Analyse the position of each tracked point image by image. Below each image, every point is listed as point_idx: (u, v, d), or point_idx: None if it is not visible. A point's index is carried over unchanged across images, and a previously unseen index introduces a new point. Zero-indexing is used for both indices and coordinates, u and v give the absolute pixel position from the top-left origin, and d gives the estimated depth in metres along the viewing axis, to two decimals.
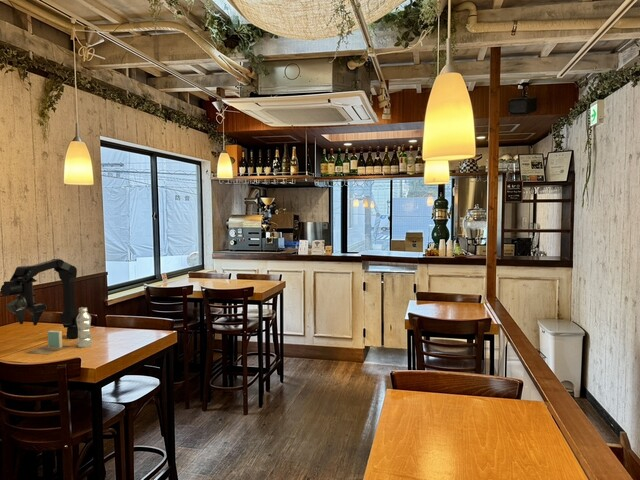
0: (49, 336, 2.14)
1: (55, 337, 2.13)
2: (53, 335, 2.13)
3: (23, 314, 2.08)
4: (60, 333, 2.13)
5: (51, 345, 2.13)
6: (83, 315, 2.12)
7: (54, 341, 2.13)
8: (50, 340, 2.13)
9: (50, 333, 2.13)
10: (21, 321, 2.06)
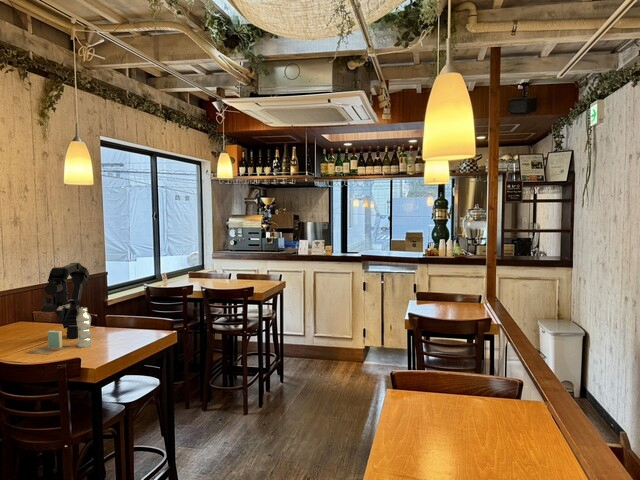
0: (49, 336, 2.14)
1: (55, 337, 2.13)
2: (53, 335, 2.13)
3: (65, 313, 2.19)
4: (60, 333, 2.13)
5: (51, 345, 2.13)
6: (83, 315, 2.12)
7: (54, 341, 2.13)
8: (50, 340, 2.13)
9: (50, 333, 2.13)
10: None
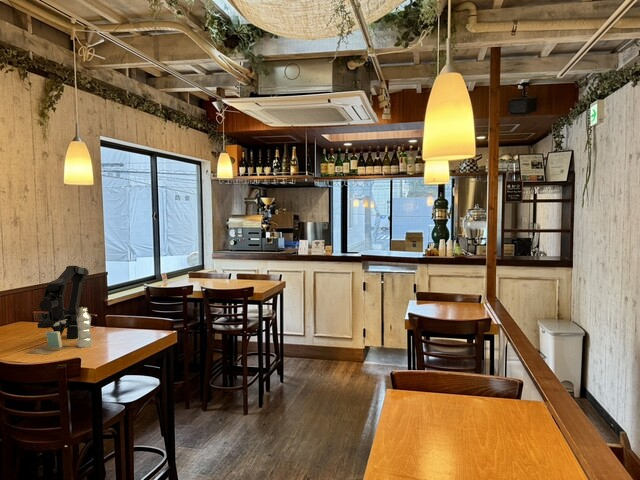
0: (48, 336, 2.13)
1: (54, 337, 2.12)
2: (52, 336, 2.12)
3: (61, 329, 2.16)
4: (59, 333, 2.12)
5: (51, 345, 2.13)
6: (83, 315, 2.12)
7: (53, 341, 2.13)
8: (49, 340, 2.13)
9: (49, 334, 2.12)
10: None
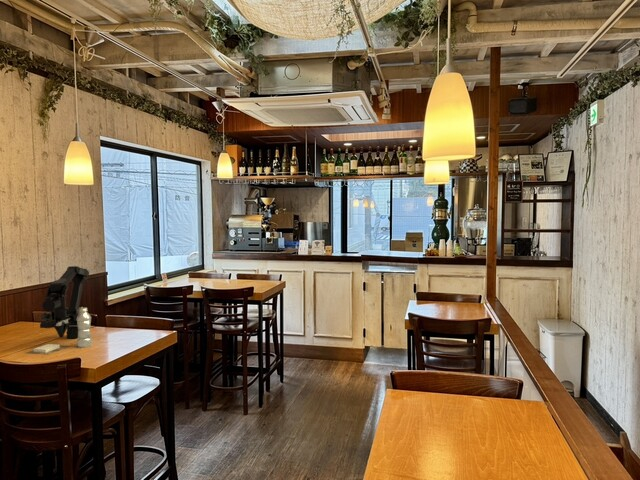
0: None
1: None
2: None
3: (64, 329, 2.18)
4: (47, 350, 2.05)
5: None
6: (83, 315, 2.12)
7: None
8: None
9: None
10: None
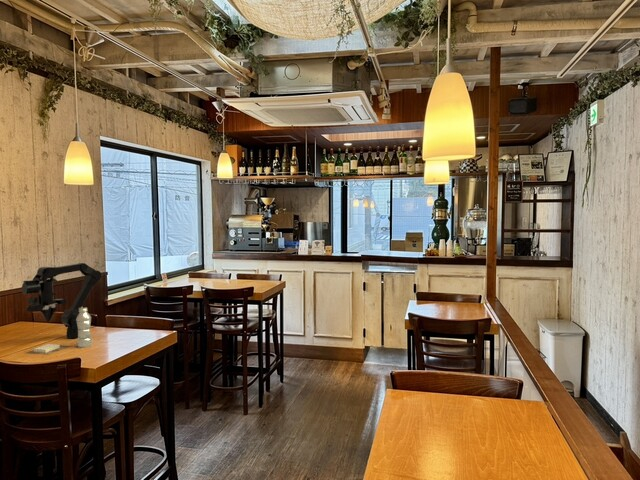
0: None
1: None
2: None
3: (51, 313, 2.21)
4: (47, 350, 2.05)
5: None
6: (83, 315, 2.12)
7: None
8: None
9: None
10: None
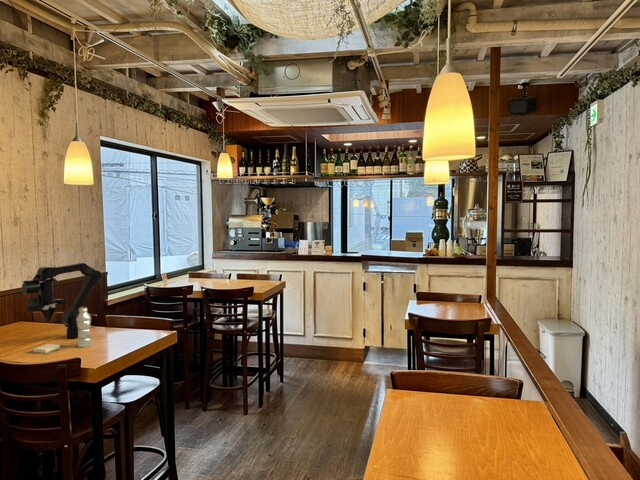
0: None
1: None
2: None
3: (50, 313, 2.21)
4: (47, 350, 2.05)
5: None
6: (83, 315, 2.12)
7: None
8: None
9: None
10: None
